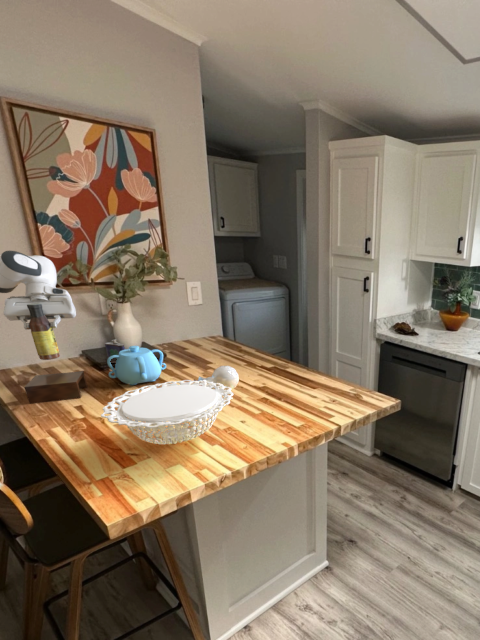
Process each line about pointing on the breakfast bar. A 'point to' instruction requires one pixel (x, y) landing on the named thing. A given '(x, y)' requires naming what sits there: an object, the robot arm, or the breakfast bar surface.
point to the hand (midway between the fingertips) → (40, 328)
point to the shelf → (55, 387)
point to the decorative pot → (136, 365)
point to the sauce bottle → (42, 333)
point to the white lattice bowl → (169, 410)
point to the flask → (114, 348)
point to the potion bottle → (223, 377)
